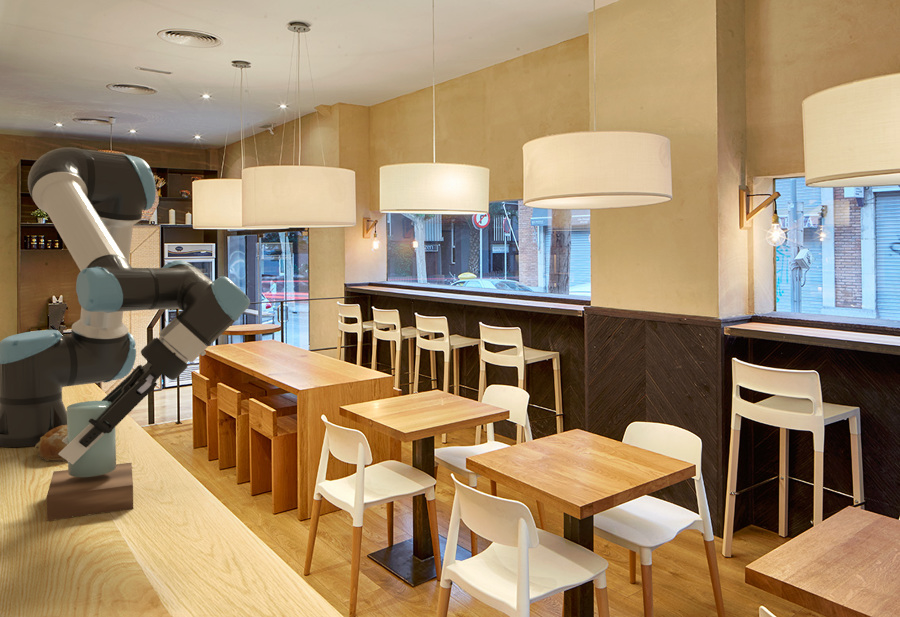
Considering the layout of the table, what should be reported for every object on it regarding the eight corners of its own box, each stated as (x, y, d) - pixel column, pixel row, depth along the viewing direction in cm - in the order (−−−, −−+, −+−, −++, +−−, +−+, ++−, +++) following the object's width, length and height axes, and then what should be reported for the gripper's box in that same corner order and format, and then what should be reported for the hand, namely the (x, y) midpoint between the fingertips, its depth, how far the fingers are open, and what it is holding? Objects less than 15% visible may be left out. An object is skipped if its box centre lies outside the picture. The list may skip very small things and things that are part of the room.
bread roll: (59, 481, 124) (73, 447, 123) (19, 455, 126) (33, 421, 125) (97, 465, 134) (110, 433, 133) (59, 441, 136) (72, 409, 134)
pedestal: (54, 494, 109) (53, 471, 109) (131, 484, 115) (131, 462, 114) (47, 520, 98) (46, 496, 98) (133, 508, 104) (133, 484, 104)
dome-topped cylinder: (69, 466, 108) (68, 402, 107) (116, 460, 111) (115, 399, 110) (66, 479, 101) (65, 412, 100) (116, 473, 105) (115, 408, 104)
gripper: (196, 374, 103) (83, 485, 97) (184, 355, 120) (88, 448, 114) (160, 343, 100) (41, 456, 94) (153, 328, 118) (53, 422, 111)
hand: (67, 451), depth 104 cm, fingers closed on dome-topped cylinder, 7 cm apart
